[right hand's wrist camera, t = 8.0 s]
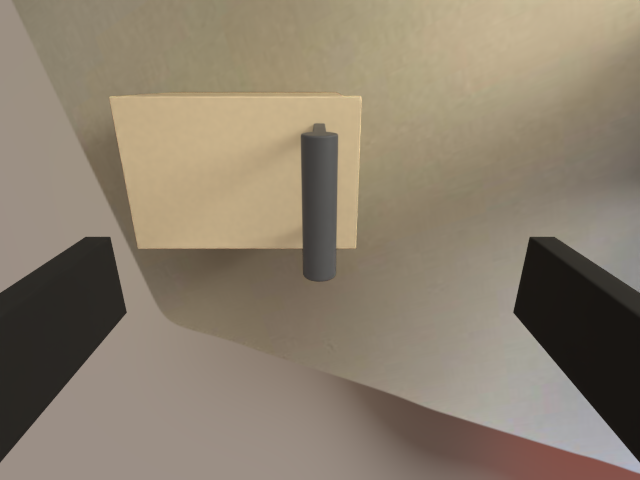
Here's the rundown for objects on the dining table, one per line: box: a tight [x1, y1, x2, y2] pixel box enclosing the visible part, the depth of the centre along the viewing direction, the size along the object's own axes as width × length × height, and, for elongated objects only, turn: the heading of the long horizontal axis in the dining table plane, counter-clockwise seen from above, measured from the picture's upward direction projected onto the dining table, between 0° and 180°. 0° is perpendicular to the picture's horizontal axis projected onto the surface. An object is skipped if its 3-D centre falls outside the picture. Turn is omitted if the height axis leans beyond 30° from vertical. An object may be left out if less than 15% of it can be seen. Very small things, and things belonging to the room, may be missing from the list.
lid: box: [109, 96, 362, 282], centre depth 22 cm, size 15×10×8 cm, turn 90°
